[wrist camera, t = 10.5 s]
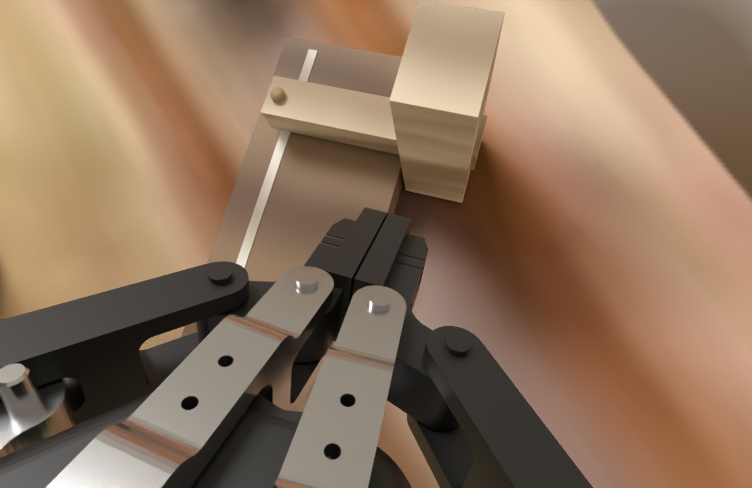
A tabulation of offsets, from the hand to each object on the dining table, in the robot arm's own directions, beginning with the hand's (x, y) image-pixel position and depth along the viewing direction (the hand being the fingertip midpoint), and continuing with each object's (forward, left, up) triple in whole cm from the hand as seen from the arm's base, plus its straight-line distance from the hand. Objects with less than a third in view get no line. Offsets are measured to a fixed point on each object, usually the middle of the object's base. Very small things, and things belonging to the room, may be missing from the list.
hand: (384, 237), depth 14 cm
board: (-3, +5, -9) cm, 11 cm away
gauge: (+2, +7, -9) cm, 12 cm away
